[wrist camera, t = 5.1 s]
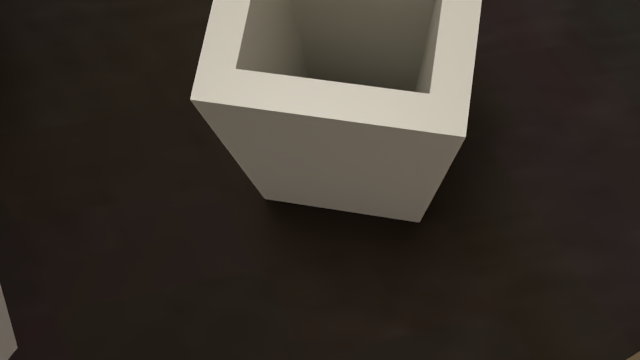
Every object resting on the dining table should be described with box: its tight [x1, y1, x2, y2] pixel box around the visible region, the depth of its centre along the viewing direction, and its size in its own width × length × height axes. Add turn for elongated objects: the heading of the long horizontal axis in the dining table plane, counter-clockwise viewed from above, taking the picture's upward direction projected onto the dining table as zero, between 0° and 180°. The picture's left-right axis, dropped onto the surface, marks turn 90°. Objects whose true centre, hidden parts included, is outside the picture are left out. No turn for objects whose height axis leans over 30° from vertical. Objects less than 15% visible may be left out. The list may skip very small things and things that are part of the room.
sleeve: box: [190, 0, 482, 223], centre depth 21 cm, size 7×7×12 cm
